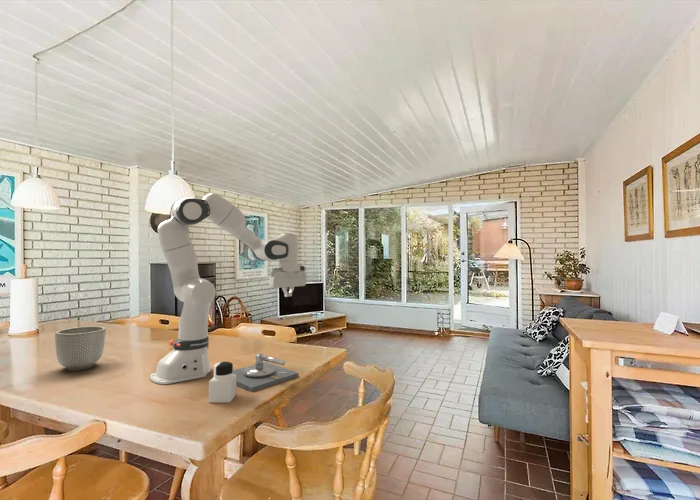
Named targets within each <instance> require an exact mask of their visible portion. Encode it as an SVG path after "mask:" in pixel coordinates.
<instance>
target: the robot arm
mask: <svg viewBox="0 0 700 500" xmlns="http://www.w3.org/2000/svg"><path fill="white" fill-rule="evenodd" d="M205 219H208V220H210V221H212V222H213V223H214V224H215V225H217V227H219V228H220V229H222V230H224V231H225V232H228V233H229V234H230V235H232V236H234V237H235V238H236V239H237V240H238V241H240V242H241V243H243V245H245V246H246V247H247V248H249V250H250V251H251V252H252V254H253V256H254V257H255V258H256V259H257V260H258V261H260V262H268V261H277V260H279V261H278V262H279V263H278V265H279V267H273V268H271V270H270V272H269V273H270V275H269V281H268V286H269V288H272V289H279V288H281V289H282V291H283V293H284V294H283V295H284V297H285V298H287V297H292V296H293V292H294V290H295V287H305V286H306V284H307V273H306V271H307V267H306V266H305V265H302V264H300V263H299V260H298V255H299V242H298V237H297V236H296V234H292V233H290V232H289V233H288V232H282V233H280V235H279V236H276V237H274V238H270V239H261V238H259V237H257V236H256V235H255V233H253V232H252V231H250V229H248V228H247V226H246V216H245V214H244V213H243V212H242V211H241V210H240V208H238V207H237V206H235V205H234V204H233V203H232V202H230V201H229V200H228V199H226V198H225V197H223V196H220V195H219V194H217V193H213V192H210V193H208V194H206V195H205V196H203V197H202V198H196V197H181V198H179V199H177V200H176V201H175V202H173V204H172V205H171V208H170V212H169V217H168V219H166V220H164V221H162V222H161V223H159V225H158V227H157V229H156V230H157V236H158V241H159V243H160V244H159V245H160V247H161V250H162V253H163V256H164V258H165V260H166V263H167V266H168V269H169V272H170V275H171V277H170V278H171V281H172V286H173V294H174V296H175V297H176V299H178V300H179V301H180V302H182V303H183V306H182V309H181V314H180V316H179V318H178V336H177V337H178V338H177V339H176V340H173V339H170V340H169V341H168V345H169V346H173V348H172V349H171V350H170V351H169V352H168V353H167V354H166V355H165V356H163V357H162V358H161V359H160V360H158V362H157V366H156V369H155V370H156V371H155V372H154V373H151V374H150V376H149V379H150V381H151V382H153V383H155V384H158V385H159V384H160V385H169V384H174V383H180V382H185V381H191V380H194V379H195V380H196V379H200V378H205V377H206V376H207V374H209V373H210V372H211V371H212V368H211V365H210V359H209V345H210V344H209V343H210V341H209V336H208V335H209V334H208V327H209V316H210V311H211V307H212V302H213V301H214V300H215V298H216V295H217V290H216V286H215V285H214V284H213V283H212V282H211V281H209V280H208V279H206V278H201V276H200V274H199V273H200V272H199V268H198V266H199V265H198V263H199V259H198V255H197V254H196V251H195V249H194V248H195V247H194V245H193V242H192V241H191V238H190V234H189V228H190V226H194V225H197V224H199V223H201V222H203V221H204V220H205ZM288 290H289V291H288Z"/></svg>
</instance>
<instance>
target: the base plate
mask: <svg viewBox="0 0 700 500" xmlns="http://www.w3.org/2000/svg"><path fill="white" fill-rule="evenodd" d="M254 365H256V363H255V364H254ZM263 365H271V366H273V367H274V368H275V372H274V374H272V375H270V376H267V377H260V378H252V377H247V376H245V375H244V369H245V368H246V367H249V366H252V364H251V365H248V366H245V367H240V368H237V369H233V374H236V387H240V388H242V389H243V390H246V391H249V392H251V393H253V392H255V391H258V390H261V389H264V388H268V387H270V386H274V385H276V384H281V383H282V382H283V383H284V382H286V381H289V380H292V379H293V380H294V379H297V378H298V377H299V372H297V371H294V370H291V369H287V368H286V367H283V366H279V365H277V364H274V363H271V362H267V361H263Z"/></svg>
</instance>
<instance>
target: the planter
mask: <svg viewBox="0 0 700 500" xmlns="http://www.w3.org/2000/svg"><path fill="white" fill-rule="evenodd" d="M106 331H107V328H106V327H105V326H101V325H89V326H75V327H69V328H64V329H59V330H57V331H56V332H55V333H54V344H55V353H56V354H55V355H56V360H57V362H58V363H59V365H60V366H62V367H64V368H66V369H67V370H68V371H71V372H76V371H77V372H79V371H83V370H88V369H91V368H93V367H94V365H95V364H96V363H97V362H99V360H101V358H102V356H103V355H104V350H105V343H106V334H107V332H106Z"/></svg>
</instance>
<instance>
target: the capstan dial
mask: <svg viewBox="0 0 700 500" xmlns="http://www.w3.org/2000/svg"><path fill="white" fill-rule="evenodd" d="M263 362H267V363H270V364H274V365H278V366H279V365H280V366H286V364H287V363H286V360H285V359H280V358H277V357H273V356H269V355H264V353H256V354H255V364H256V365H255V364H253V365H252V364H251V365H252V366H251V365H248V366H249V367H248V366H245V367H246V368H245V369H244V375H245V376H247V377H252V378H260V377H267V376H270V375H272V374H274V372H275V368H274V367H273V366H271V365H263Z"/></svg>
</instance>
